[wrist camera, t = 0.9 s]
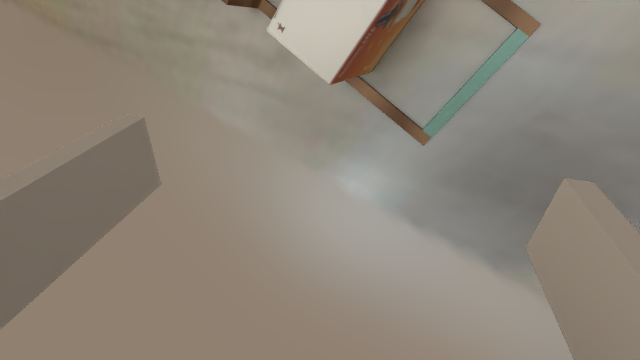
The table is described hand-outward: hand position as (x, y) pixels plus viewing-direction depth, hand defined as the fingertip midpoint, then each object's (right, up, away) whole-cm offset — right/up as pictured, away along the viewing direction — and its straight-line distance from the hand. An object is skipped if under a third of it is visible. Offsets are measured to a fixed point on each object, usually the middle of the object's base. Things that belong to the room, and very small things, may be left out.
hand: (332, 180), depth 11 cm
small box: (+4, +14, +17) cm, 22 cm away
